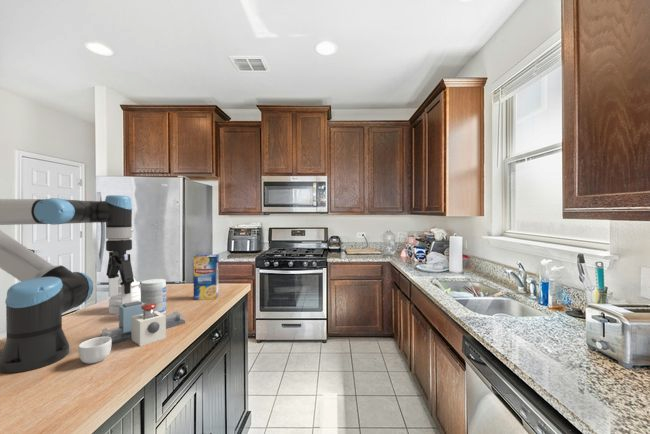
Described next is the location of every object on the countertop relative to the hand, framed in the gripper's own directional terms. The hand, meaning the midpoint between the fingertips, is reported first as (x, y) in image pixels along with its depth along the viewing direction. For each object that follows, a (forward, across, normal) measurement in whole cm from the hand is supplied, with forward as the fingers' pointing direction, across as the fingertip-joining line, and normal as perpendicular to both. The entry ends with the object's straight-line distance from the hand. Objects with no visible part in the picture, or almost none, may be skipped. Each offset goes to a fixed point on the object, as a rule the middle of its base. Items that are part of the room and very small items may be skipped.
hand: (119, 299), depth 103 cm
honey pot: (+14, +32, -12) cm, 37 cm away
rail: (+13, 0, -8) cm, 16 cm away
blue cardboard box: (+14, +22, -45) cm, 52 cm away
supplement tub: (+14, +15, -17) cm, 26 cm away
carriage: (+12, 0, -4) cm, 12 cm away
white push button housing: (+13, -10, -6) cm, 17 cm away
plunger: (+9, -10, -6) cm, 14 cm away
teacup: (+14, -13, +9) cm, 21 cm away
